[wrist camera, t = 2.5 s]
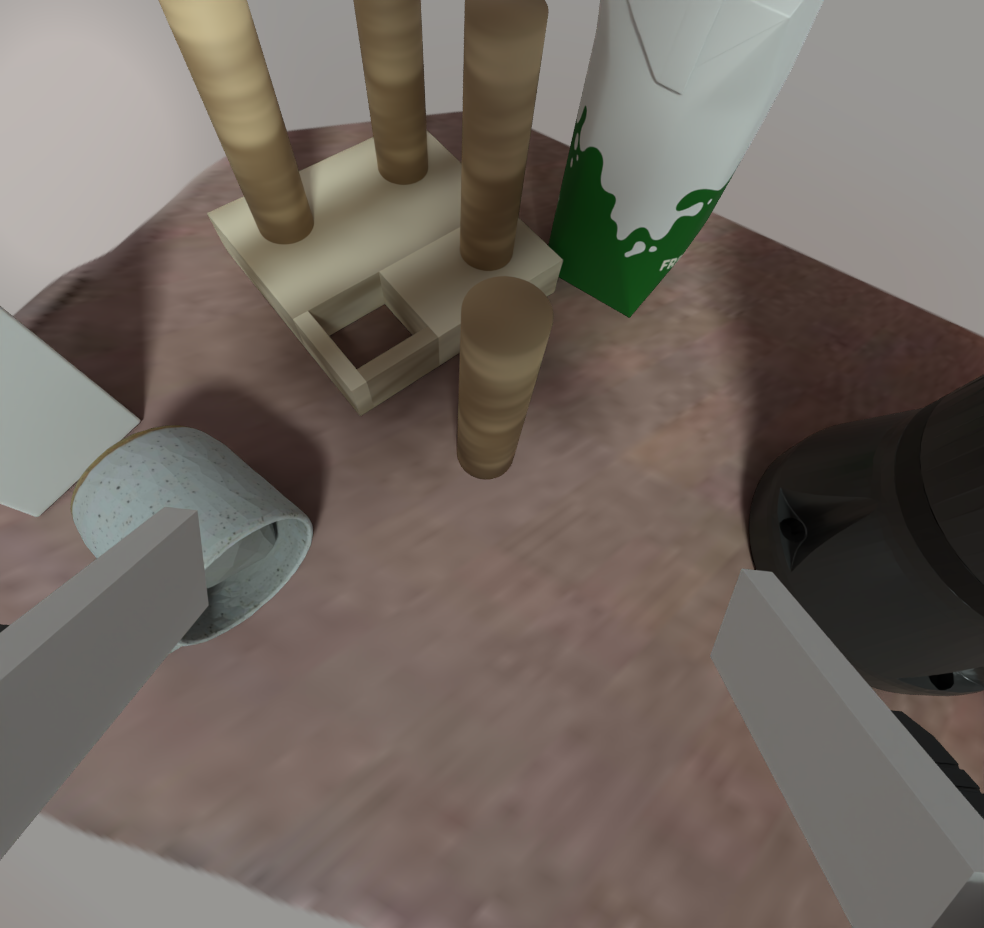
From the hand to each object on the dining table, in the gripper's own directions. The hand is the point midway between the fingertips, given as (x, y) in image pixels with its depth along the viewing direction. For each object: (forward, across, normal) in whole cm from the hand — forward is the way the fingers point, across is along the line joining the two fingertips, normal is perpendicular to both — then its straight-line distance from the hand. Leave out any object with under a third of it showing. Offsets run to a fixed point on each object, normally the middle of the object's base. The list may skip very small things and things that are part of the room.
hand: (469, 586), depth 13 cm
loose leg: (+18, 0, -4) cm, 19 cm away
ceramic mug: (+13, -14, -10) cm, 21 cm away
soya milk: (+30, +8, +8) cm, 32 cm away
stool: (+27, -7, +6) cm, 29 cm away
